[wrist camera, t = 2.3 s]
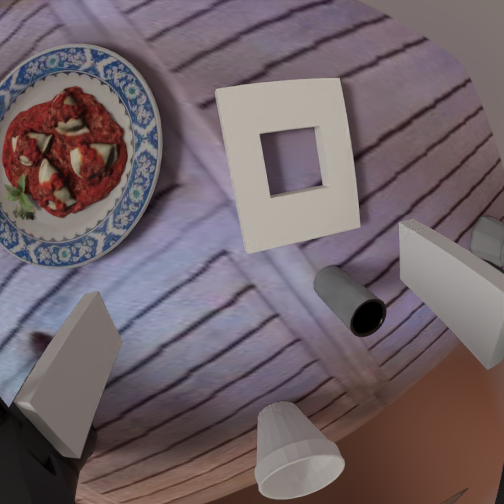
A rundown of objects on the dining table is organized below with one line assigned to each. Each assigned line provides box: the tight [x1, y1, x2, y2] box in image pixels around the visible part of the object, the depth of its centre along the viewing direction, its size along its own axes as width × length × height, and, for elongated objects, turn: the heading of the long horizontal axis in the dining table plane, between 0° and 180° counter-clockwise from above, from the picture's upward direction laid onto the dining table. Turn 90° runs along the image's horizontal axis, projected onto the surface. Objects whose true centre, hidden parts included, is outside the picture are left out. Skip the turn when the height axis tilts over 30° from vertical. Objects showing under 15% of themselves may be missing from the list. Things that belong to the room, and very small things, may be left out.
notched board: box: [215, 78, 360, 254], centre depth 33 cm, size 18×14×2 cm
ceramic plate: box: [0, 44, 163, 269], centre depth 27 cm, size 26×26×3 cm
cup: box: [254, 401, 345, 499], centre depth 39 cm, size 12×12×14 cm
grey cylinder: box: [314, 266, 386, 337], centre depth 35 cm, size 4×4×10 cm
